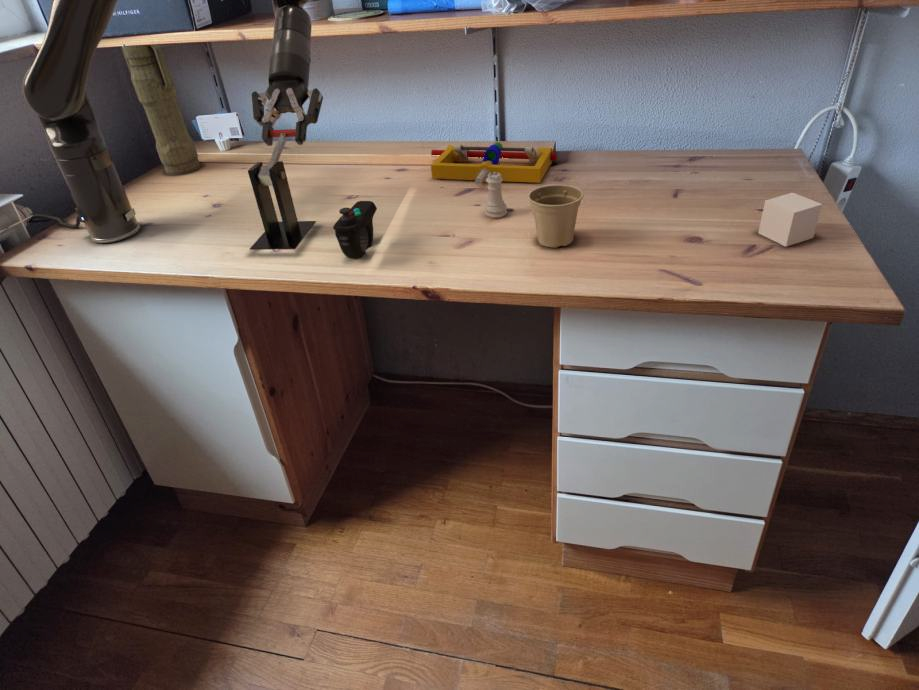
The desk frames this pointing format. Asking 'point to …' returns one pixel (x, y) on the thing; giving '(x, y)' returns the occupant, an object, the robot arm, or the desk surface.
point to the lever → (275, 154)
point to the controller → (355, 229)
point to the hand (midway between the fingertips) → (283, 143)
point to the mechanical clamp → (491, 163)
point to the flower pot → (555, 213)
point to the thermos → (161, 107)
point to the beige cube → (789, 219)
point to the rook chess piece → (495, 197)
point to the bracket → (276, 232)
